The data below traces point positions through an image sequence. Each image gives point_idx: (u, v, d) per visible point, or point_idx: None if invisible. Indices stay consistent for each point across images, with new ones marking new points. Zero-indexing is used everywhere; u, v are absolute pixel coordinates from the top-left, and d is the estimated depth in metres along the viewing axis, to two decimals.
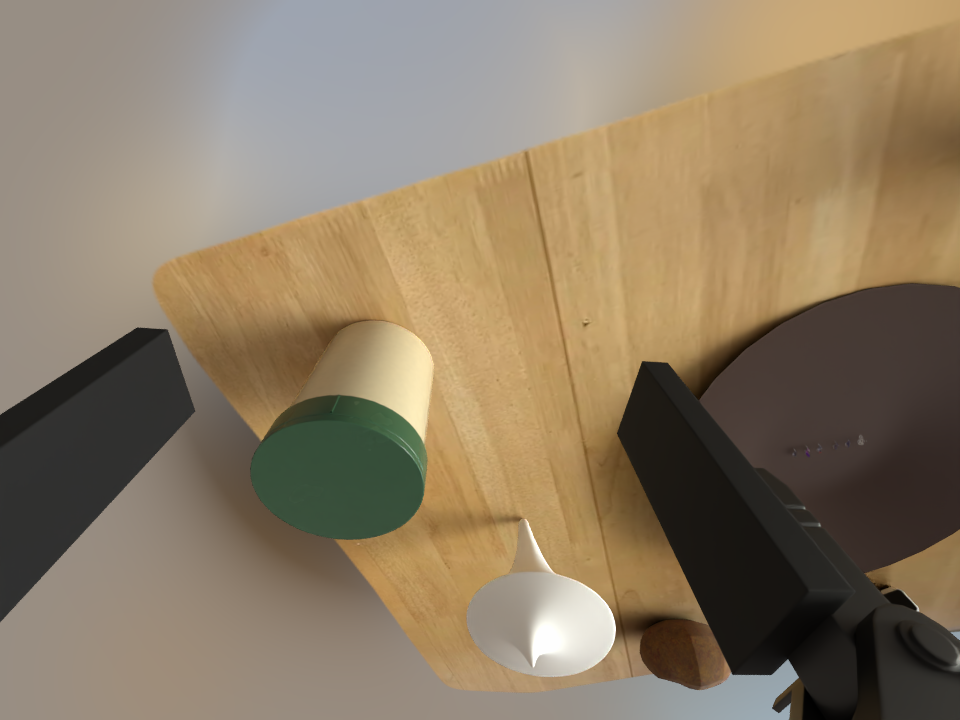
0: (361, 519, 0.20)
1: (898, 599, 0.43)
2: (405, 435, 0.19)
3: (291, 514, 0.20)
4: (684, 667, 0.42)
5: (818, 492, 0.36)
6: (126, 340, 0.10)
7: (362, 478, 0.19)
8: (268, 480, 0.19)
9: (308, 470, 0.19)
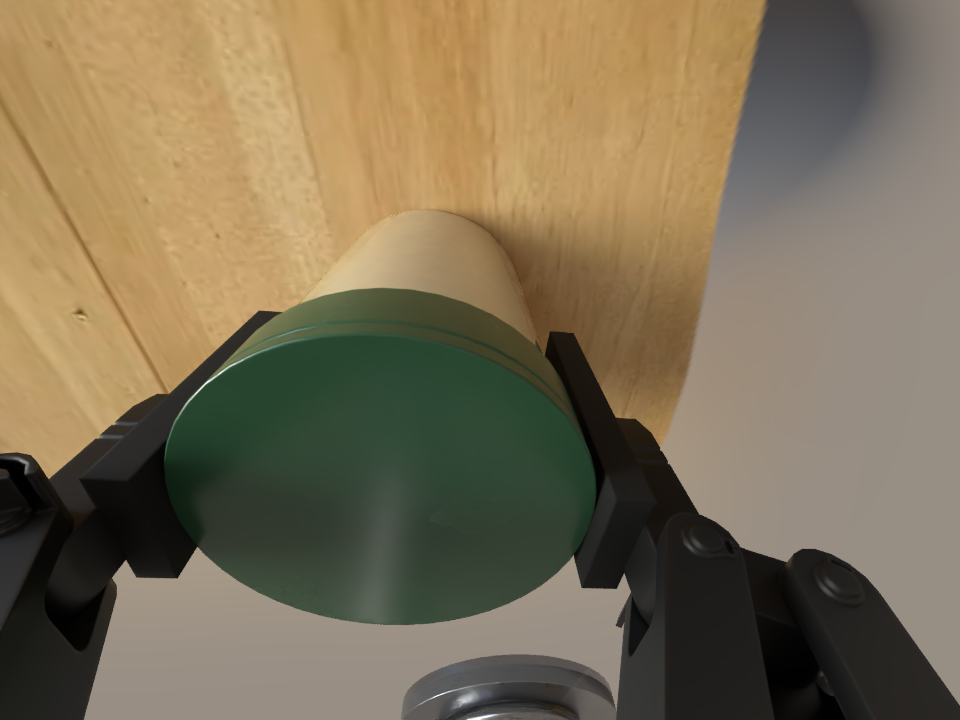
0: (361, 416, 0.07)
1: None
2: None
3: (550, 466, 0.07)
4: None
5: None
6: (255, 321, 0.11)
7: (326, 528, 0.08)
8: (539, 551, 0.09)
9: (442, 557, 0.09)
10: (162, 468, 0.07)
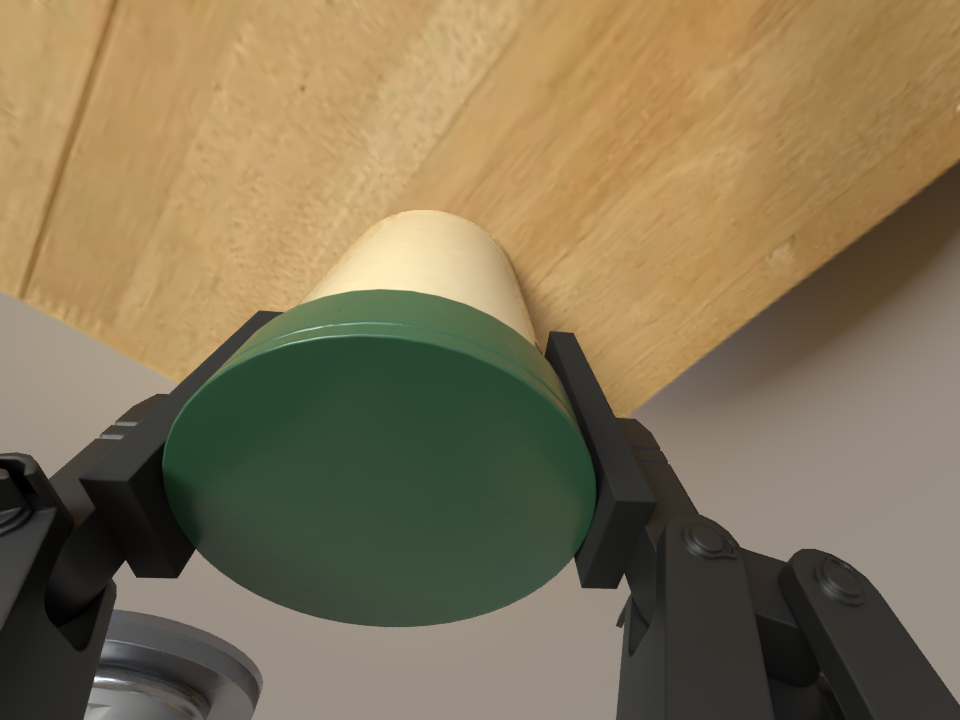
0: (360, 418, 0.07)
1: None
2: None
3: (550, 468, 0.07)
4: None
5: None
6: (256, 321, 0.11)
7: (326, 530, 0.08)
8: (538, 552, 0.09)
9: (442, 559, 0.09)
10: None
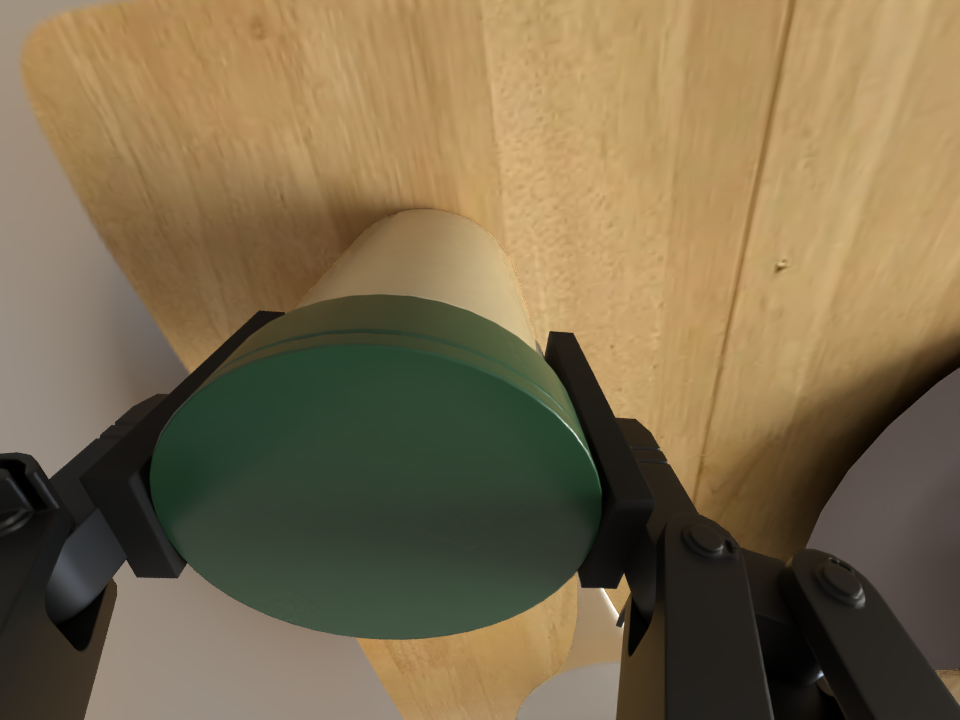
0: (358, 430, 0.06)
1: None
2: None
3: (555, 483, 0.07)
4: None
5: None
6: (256, 321, 0.11)
7: (320, 543, 0.08)
8: (541, 567, 0.08)
9: (440, 573, 0.08)
10: None
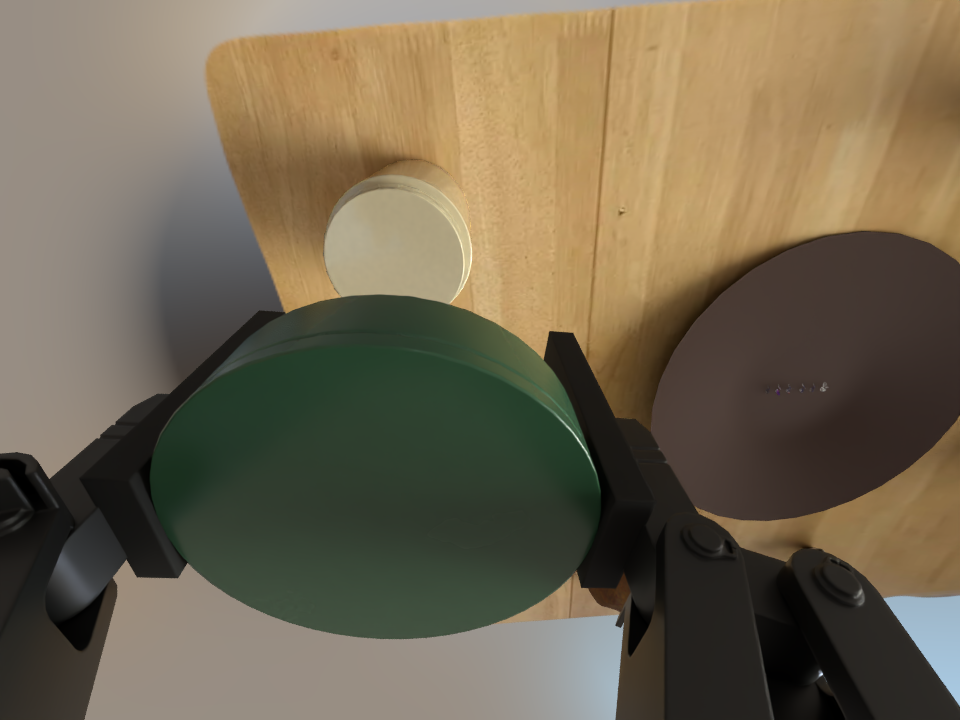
0: (357, 430, 0.06)
1: None
2: None
3: (554, 482, 0.07)
4: (629, 594, 0.45)
5: (777, 436, 0.40)
6: (256, 320, 0.11)
7: (320, 542, 0.08)
8: (540, 566, 0.08)
9: (440, 573, 0.08)
10: None
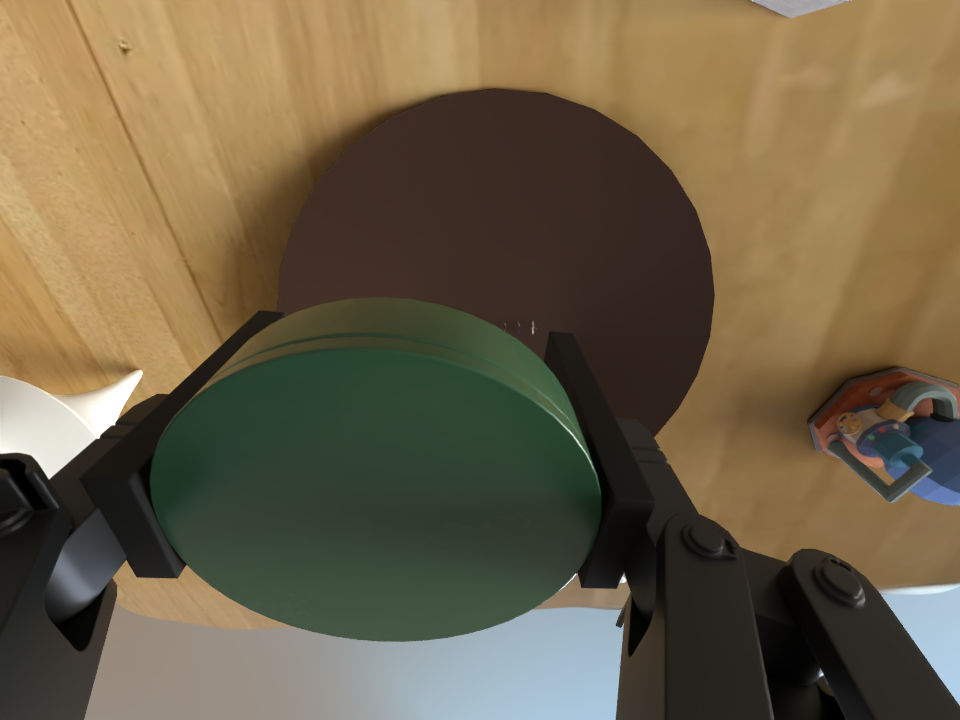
0: (357, 434, 0.06)
1: None
2: None
3: (555, 485, 0.07)
4: None
5: None
6: (256, 321, 0.11)
7: (320, 545, 0.08)
8: (541, 569, 0.08)
9: (441, 575, 0.08)
10: None
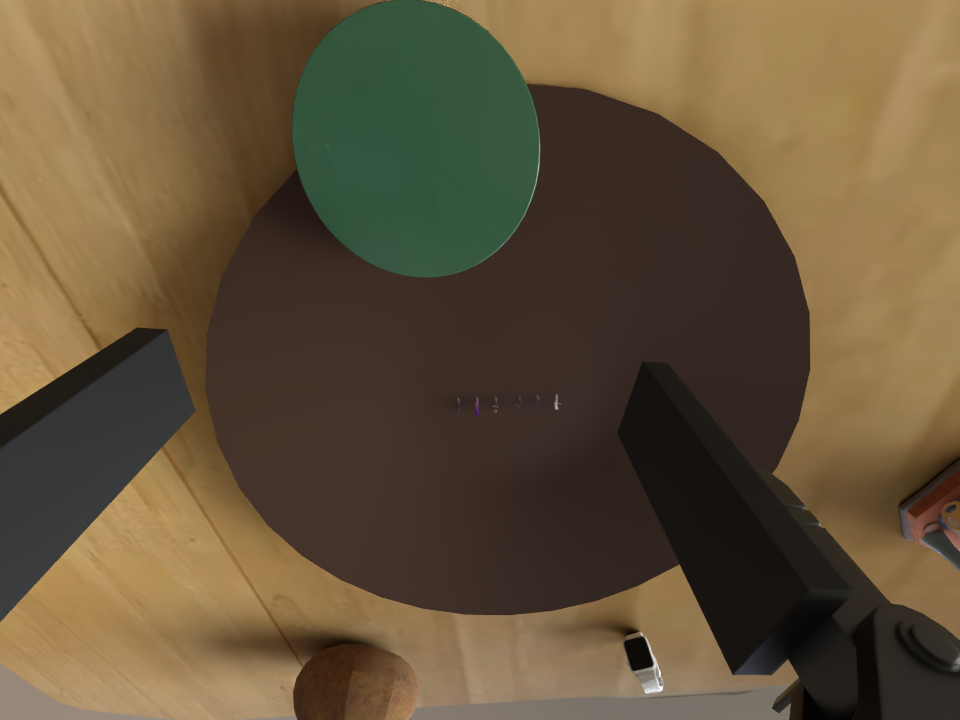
0: (471, 95, 0.12)
1: (638, 649, 0.32)
2: None
3: (507, 205, 0.14)
4: (326, 715, 0.29)
5: (512, 480, 0.24)
6: (127, 340, 0.10)
7: (384, 132, 0.13)
8: (454, 251, 0.15)
9: (411, 210, 0.14)
10: None
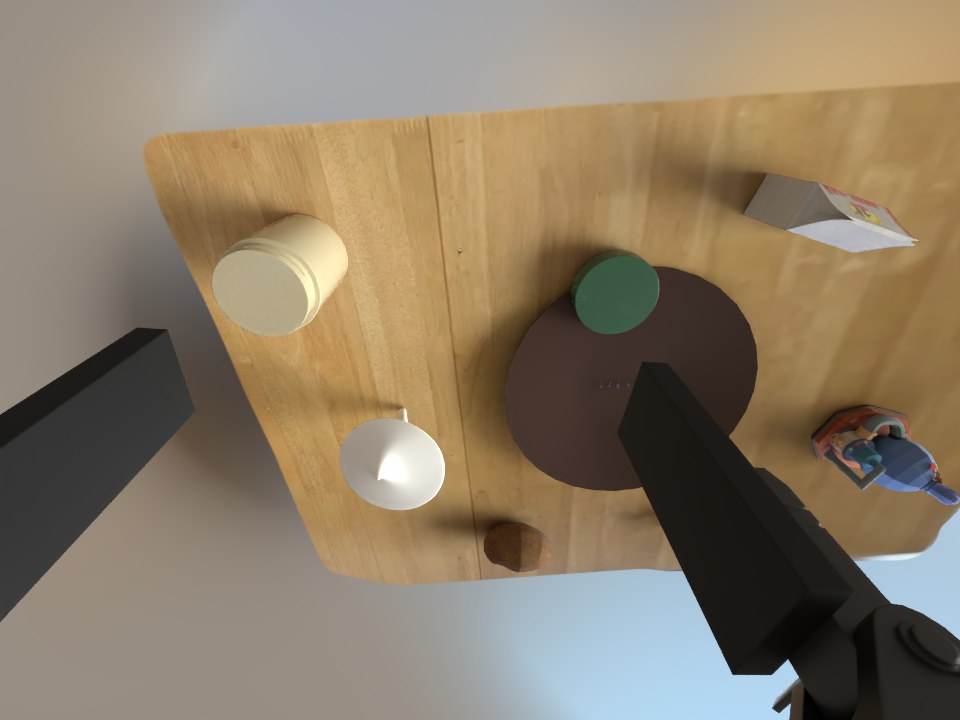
0: (638, 279, 0.38)
1: None
2: (579, 277, 0.39)
3: (644, 310, 0.40)
4: (511, 552, 0.55)
5: (619, 422, 0.50)
6: (126, 340, 0.10)
7: (607, 289, 0.38)
8: (622, 325, 0.40)
9: (610, 312, 0.40)
10: None
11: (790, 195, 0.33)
